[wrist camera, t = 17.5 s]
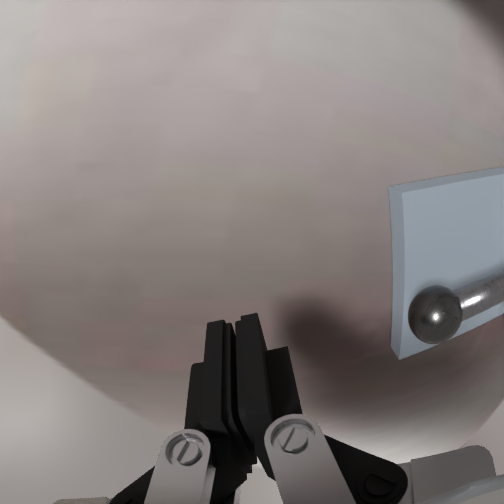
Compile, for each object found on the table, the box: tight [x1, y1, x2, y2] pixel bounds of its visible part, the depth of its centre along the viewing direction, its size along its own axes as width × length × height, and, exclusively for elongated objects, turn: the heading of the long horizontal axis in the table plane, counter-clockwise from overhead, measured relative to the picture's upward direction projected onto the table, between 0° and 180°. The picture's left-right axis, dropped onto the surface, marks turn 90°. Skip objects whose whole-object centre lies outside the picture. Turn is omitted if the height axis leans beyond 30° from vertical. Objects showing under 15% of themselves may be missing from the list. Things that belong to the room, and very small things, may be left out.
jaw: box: [408, 269, 504, 344], centre depth 11 cm, size 7×11×4 cm, turn 103°
